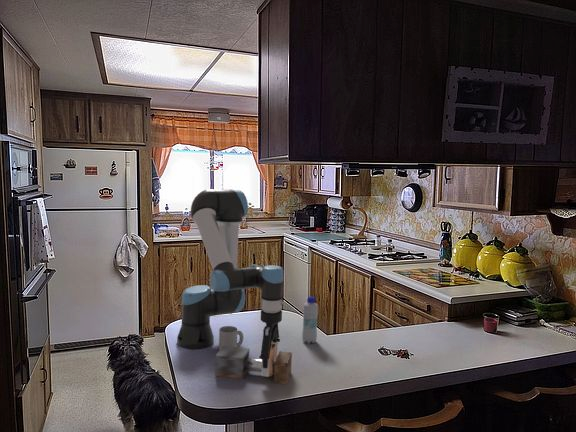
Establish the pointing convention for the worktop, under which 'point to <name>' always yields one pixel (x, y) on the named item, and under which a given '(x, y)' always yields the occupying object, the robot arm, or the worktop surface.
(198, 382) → the worktop surface
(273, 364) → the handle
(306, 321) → the bottle
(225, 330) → the cup
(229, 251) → the robot arm
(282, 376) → the sleeve and socket
